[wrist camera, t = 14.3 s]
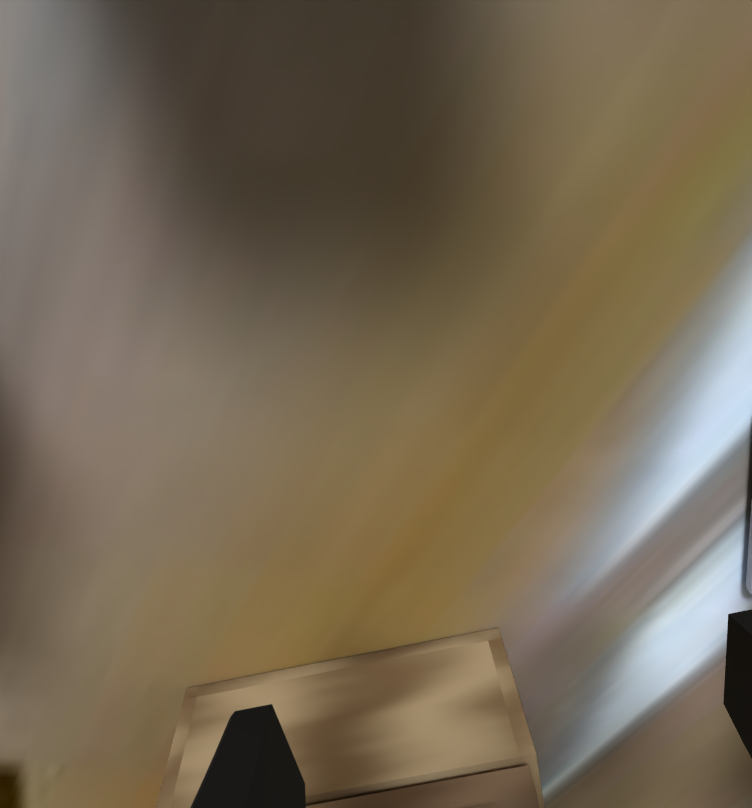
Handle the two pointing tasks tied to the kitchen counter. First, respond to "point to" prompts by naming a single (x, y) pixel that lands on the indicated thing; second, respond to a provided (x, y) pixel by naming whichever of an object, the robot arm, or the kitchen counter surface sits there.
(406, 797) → the lid
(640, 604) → the kitchen counter surface
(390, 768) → the carton
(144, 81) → the kitchen counter surface
